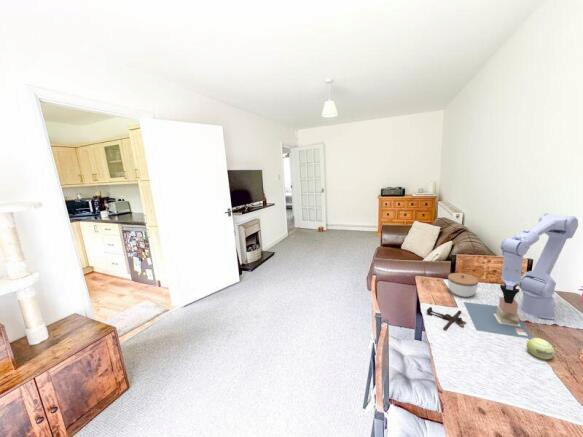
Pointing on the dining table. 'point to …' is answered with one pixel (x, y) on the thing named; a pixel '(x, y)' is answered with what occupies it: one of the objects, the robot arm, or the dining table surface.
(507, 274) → the robot arm
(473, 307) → the board
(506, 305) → the terracotta block
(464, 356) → the dining table surface
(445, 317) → the bear figurine
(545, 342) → the tennis ball
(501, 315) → the maple block
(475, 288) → the lidded bowl
